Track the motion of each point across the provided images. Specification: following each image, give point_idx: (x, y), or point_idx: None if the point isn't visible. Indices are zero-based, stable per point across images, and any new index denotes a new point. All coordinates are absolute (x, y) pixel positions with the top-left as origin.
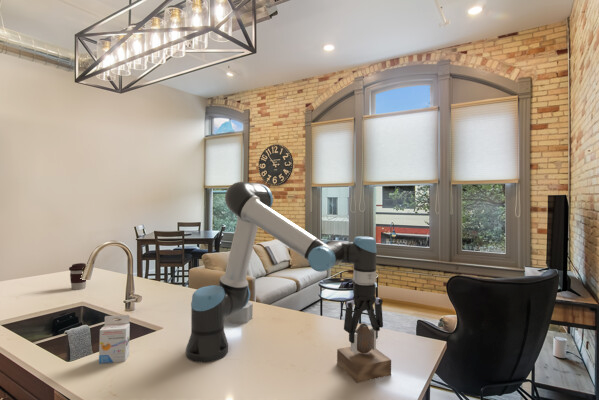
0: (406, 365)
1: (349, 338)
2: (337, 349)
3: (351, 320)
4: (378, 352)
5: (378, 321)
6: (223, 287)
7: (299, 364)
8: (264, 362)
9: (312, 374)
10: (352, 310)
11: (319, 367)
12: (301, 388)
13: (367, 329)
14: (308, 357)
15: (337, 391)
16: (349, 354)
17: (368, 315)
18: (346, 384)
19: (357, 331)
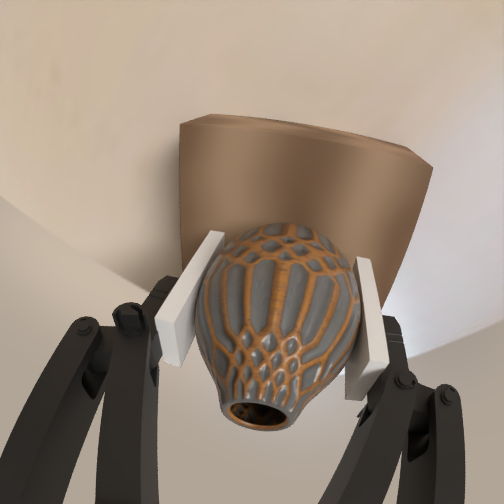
0: (461, 286)
1: (152, 296)
2: (181, 126)
3: (82, 440)
4: (379, 281)
5: (447, 421)
6: None
7: (72, 74)
8: (9, 46)
9: (88, 156)
10: None
11: (124, 118)
12: (53, 211)
13: (270, 413)
14: (120, 25)
15: (131, 271)
16: (212, 216)
17: (341, 492)
18: (169, 260)
19: (203, 353)
